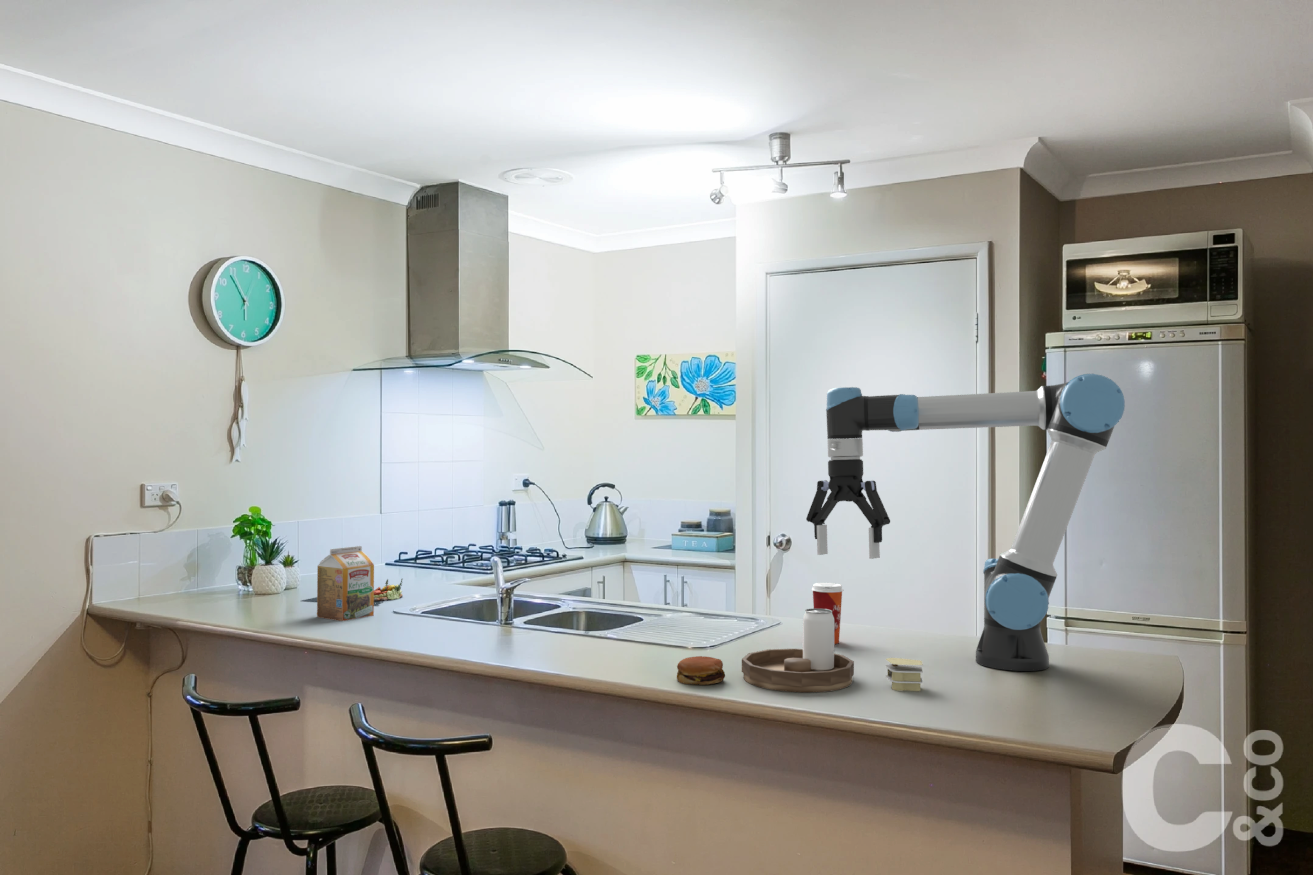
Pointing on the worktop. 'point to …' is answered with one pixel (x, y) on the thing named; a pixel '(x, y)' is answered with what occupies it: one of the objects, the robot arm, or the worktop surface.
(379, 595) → the plated dish
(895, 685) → the yellow layered block
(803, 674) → the tray
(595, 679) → the worktop surface
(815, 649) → the can
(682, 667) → the burger
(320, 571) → the milk carton
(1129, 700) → the worktop surface
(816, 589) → the paper cup
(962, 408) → the robot arm
